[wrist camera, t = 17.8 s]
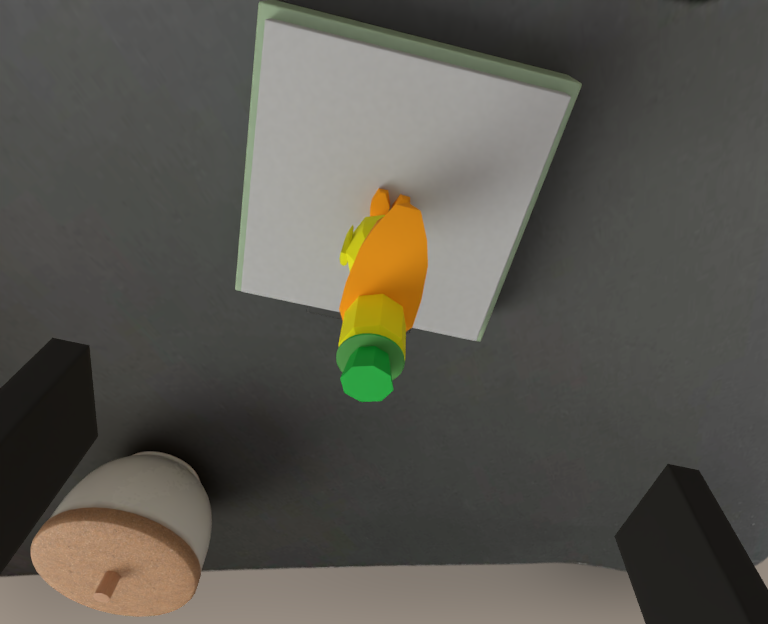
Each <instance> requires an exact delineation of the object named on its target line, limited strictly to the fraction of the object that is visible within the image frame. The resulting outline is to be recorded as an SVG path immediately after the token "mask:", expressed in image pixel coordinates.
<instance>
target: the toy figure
mask: <svg viewBox="0 0 768 624" xmlns="http://www.w3.org/2000/svg"><path fill="white" fill-rule="evenodd" d="M389 208H390V199H389V192H388V190H385V189H380V188H378V190H377V191H376V193H375V195H374V196H373V198H372V201H371V206H370V217H365V218H364V219H363V221H362V222H361V223H360V225H359V226H358V227H357V228H356V230H355V231H354V232H353V225H352V226H351V228H350V229H349V231H348V233H347V234H346V237H345V240H344V243H343V246H342V250H341V253H340V258H339V259H340V264H341V265H343V266H345V265H347V263H348V265H349V270H350V273H349V276H348V278H347V281H346V283H345V287H344V291H343V295H342V299H341V303H340V307H339V311H340V314H341V317H342V320H343V324H342V329H341V334H340V339H339V348H338V350H337V354H336V361H337V365H338V367H339V369H340V370H341V371H342V372H343V373H342V375H341V378H340V379H341V383H342V386H343V390H344V393H346V394H348V395H349V396H351V397H353V398H355V399H357V400H358V401H360V402H371V401H382V400H383V399H384V398H385V397H386V396H387V395H389V394H390V393H391V392H392V391H393V383H392V380H394V379H395V378H397V377H398V376H399V375H400V374H401V372H402V370H403V368H404V364H405V350H406V331H408V330H409V329H410V328H412V327H413V324H414V321H415V318H416V315H417V312H418V309H419V306H420V303H421V300H422V295H423V289H424V284H425V279H426V274H427V268H428V249H427V237H426V233H425V228H424V223H423V218H422V214H421V211H420V210H419V209H417V208H416V207H414V206H413V205H411V204H410V197H408V196H405V195H402V194H400V195H399V197H398V198H397V199H396V200H395V202H394V203H393V204H392V208H391V210H390V211H389ZM388 211H389V212H388Z"/></svg>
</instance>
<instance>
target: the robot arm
mask: <svg viewBox="0 0 768 624" xmlns="http://www.w3.org/2000/svg"><path fill="white" fill-rule="evenodd" d="M97 437H98V432H97V422H96V411H95V401H94V390H93V380H92V369H91V359H90V348H89V345H84V344H80V343H75V342H70V341H65V340H60V339H55V338H52V339H51V340H50V341H49V342H48V343H47V344H46V345H45V346H44V347H43V348H42V349H41V350H40V351H39V352H38V353H37V354H36V355H35V356H34V357H32V358H31V359H30V360H29V361H28V362H27V363H26V364H25V365H24V366H23V367H22V368H21V369H20V370H19V371H18V372H17V373H16V374H15V375H14V376H13V377H12V378H11V379H10V380H9V381H8V382H7V383H6V384H5V385H4V386H3V387H2V388H0V574H1V572H2V571H3V570H4V568H5V567H6V565H7V564H8V563H9V561H10V560H11V558H12V557H13V556H14V554H15V553H16V551H17V550H18V548H19V547H20V546H21V544H22V543H23V541H24V540H25V539H26V537H27V536H28V534H29V533H30V532H31V530H32V529H33V527H34V526H35V524H36V523H37V522H38V520H39V519H40V517H41V516H42V515H43V513H44V512H45V510H46V509H47V508H48V506H49V505H50V503H51V502H52V500H53V499H54V498H55V496H56V495H57V493H58V492H59V491H60V489H61V488H62V486H63V485H64V483H65V482H66V481H67V479H68V478H69V476H70V475H71V474H72V472H73V471H74V469H75V468H76V467H77V465H78V464H79V462H80V461H81V459H82V458H83V457H84V455H85V454H86V452H87V451H88V450H89V448H90V447H91V445H92V444H93V443H94V441H95V440H96V438H97ZM615 539H616V542H617V544H618V547H619V550H620V553H621V556H622V558H623V561H624V564H625V567H626V570H627V572H628V575H629V578H630V581H631V583H632V586H633V589H634V592H635V595H636V598H637V601H638V603H639V606H640V609H641V612H642V614H643V617H644V620H645V623H646V624H768V589H767V587H766V586H765V584H764V582H763V581H762V579H761V577H760V575H759V573H758V572H757V570H756V568H755V567H754V565H753V563H752V561H751V560H750V558H749V556H748V554H747V553H746V551H745V549H744V547H743V546H742V544H741V542H740V541H739V539H738V537H737V535H736V534H735V532H734V530H733V528H732V527H731V525H730V523H729V521H728V520H727V518H726V516H725V515H724V513H723V511H722V509H721V508H720V506H719V504H718V502H717V501H716V499H715V497H714V496H713V494H712V492H711V490H710V489H709V487H708V485H707V483H706V482H705V480H704V478H703V476H702V475H701V473H700V471H699V470H695V469H690V468H685V467H680V466H675V465H670V464H667V466H666V467H665V469H664V470H663V471H662V473H661V474H660V475H659V477H658V478H657V479H656V481H655V482H654V483H653V485H652V486H651V488H650V489H649V490H648V492H647V493H646V494H645V496H644V497H643V498H642V500H641V501H640V503H639V504H638V505H637V507H636V508H635V509H634V511H633V512H632V513H631V515H630V516H629V517H628V519H627V520H626V522H625V523H624V524H623V526H622V527H621V528H620V530H619V531H618V532H617V534H616V535H615Z"/></svg>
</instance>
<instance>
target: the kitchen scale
mask: <svg viewBox="0 0 768 624" xmlns="http://www.w3.org/2000/svg"><path fill="white" fill-rule="evenodd" d="M581 86H582V84H581V83H580V82H579V81H577V80H575V79H574V78H572V77H570V76H569V75H566V74H562V73H559V72H555V71H551V70H547V69H543V68H539V67H535V66H531V65H527V64H523V63H519V62H516V61H512V60H508V59H504V58H500V57H496V56H492V55H488V54H484V53H480V52H476V51H473V50H469V49H465V48H461V47H457V46H453V45H449V44H445V43H441V42H437V41H434V40H430V39H426V38H422V37H418V36H414V35H410V34H406V33H402V32H398V31H394V30H391V29H387V28H383V27H379V26H375V25H371V24H367V23H363V22H359V21H355V20H351V19H348V18H344V17H340V16H336V15H332V14H328V13H324V12H320V11H316V10H312V9H309V8H305V7H301V6H297V5H293V4H289V3H285V2H281V1H277V0H266V1H260V2H259V5H258V17H257V29H256V41H255V54H254V66H253V78H252V90H251V102H250V114H249V127H248V139H247V151H246V163H245V175H244V188H243V200H242V212H241V224H240V236H239V248H238V261H237V273H236V285H235V289H236V290H239V291H242V292H246V293H251V294H256V295H260V296H265V297H270V298H275V299H279V300H284V301H289V302H294V303H298V304H303V305H307V312H310V313H314V314H319V315H324V316H329V317H333V318H338V319H342V317H341V314H340V311H339V307H340V303H341V299H342V295H343V291H344V287H345V283H346V281H347V278H348V276H349V273H350V270H349V265H348V263H347V265H345V266H343V265H341V264H340V259H339V258H340V253H341V250H342V246H343V243H344V240H345V237H346V234H347V233H348V231H349V229H350V228H351V226H352V225H353V232H354V231H355V230H356V228H357V227H358V226H359V225H360V223H361V222H362V221H363V219H364V218H365V217H370V206H371V201H372V198H373V196H374V195H375V193H376V191H377V190H378V188H380V189H385V190H388V192H389V199H390V208H389V211H390V210H391V208H392V204H393V203H394V202H395V200H396V199H397V198H398V197H399V195H400V194H402V195H405V196H408V197H410V204H411V205H413V206H414V207H416V208H417V209H419V210H420V211H421V214H422V218H423V223H424V228H425V233H426V237H427V249H428V268H427V274H426V279H425V284H424V289H423V295H422V300H421V303H420V306H419V309H418V312H417V315H416V318H415V321H414V324H413V327H412V328H416V329H421V330H426V331H431V332H435V333H440V334H445V335H449V336H454V337H459V338H464V339H468V340H473V341H481V339H482V337H483V334H484V331H485V329H486V326H487V324H488V321H489V319H490V316H491V314H492V311H493V309H494V306H495V304H496V301H497V299H498V296H499V294H500V291H501V288H502V286H503V283H504V281H505V278H506V276H507V273H508V271H509V268H510V266H511V263H512V261H513V258H514V256H515V253H516V251H517V248H518V246H519V243H520V240H521V238H522V235H523V233H524V230H525V228H526V225H527V223H528V220H529V218H530V215H531V213H532V210H533V208H534V205H535V203H536V200H537V197H538V195H539V192H540V190H541V187H542V185H543V182H544V180H545V177H546V175H547V172H548V170H549V167H550V165H551V162H552V160H553V157H554V154H555V152H556V149H557V147H558V144H559V142H560V139H561V137H562V134H563V132H564V129H565V127H566V124H567V122H568V119H569V117H570V114H571V111H572V109H573V106H574V104H575V101H576V99H577V96H578V94H579V91H580V89H581ZM389 211H388V212H389ZM410 329H411V328H410ZM410 329H409V330H408V331H406V333H410Z"/></svg>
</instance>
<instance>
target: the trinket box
mask: <svg viewBox="0 0 768 624" xmlns="http://www.w3.org/2000/svg"><path fill="white" fill-rule="evenodd" d="M211 527H212V513H211V506H210V502H209V499H208V496H207V493H206V491H205V489H204V487H203V486H202V484H201V483H200V479H199V477H198V475H197V473H196V472H195V470H194V469H193V468H192V467H191V466H190V465H188V464H187V463H186V462H184V461H183V460H181V459H179V458H177V457H175V456H172V455H170V454H166V453H162V452H155V451H145V452H139V453H136V454H133V455H131V456H127V457H122V458H119V459H116V460H113V461H110V462H108V463H106V464H104V465H102V466H100V467H98V468H97V469H95V470H94V471H92V472H91V473H89V474H88V475H87V476H86V477H85V478H83V479H82V480H81V481H80V482H79V483H78V484H77V485H76V486H75V487H74V488H73V489H72V490H71V491H70V492H69V493H68V495H67V496H66V497H65V498H64V499H63V501H62V502H61V503H60V505H59V506H58V507H57V509H56V510H55V512H54V513H53V514H52V516H51V517H50V519H49V520H48V521H47V522H45V523H44V525H43V526H42V527H41V529H40V530H39V532H38V533H37V535H36V536H35V538H34V539H33V541H32V545H31V558H32V562H33V565H34V567H35V568H36V570H37V572H38V573H39V574H40V576H41V577H42V578H43V579H44V580H45V581H46V582H47V583H48V584H49V585H50V586H51V587H53V588H54V589H55V590H57V591H58V592H60V593H61V594H63V595H65V596H66V597H68V598H69V599H71V600H74V601H76V602H78V603H80V604H83V605H85V606H87V607H90V608H93V609H97V610H100V611H103V612H108V613H112V614H118V615H125V616H137V617H139V616H155V615H161V614H165V613H168V612H172V611H174V610H177V609H178V608H180V607H182V606H183V605H185V604H186V603H187V602H188V601H189V600H190V599H191V598H192V597H193V595H194V594H195V591H196V589H197V586H198V583H199V579H200V575H201V569H202V566H203V563H204V560H205V557H206V554H207V550H208V546H209V542H210V537H211Z"/></svg>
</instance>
